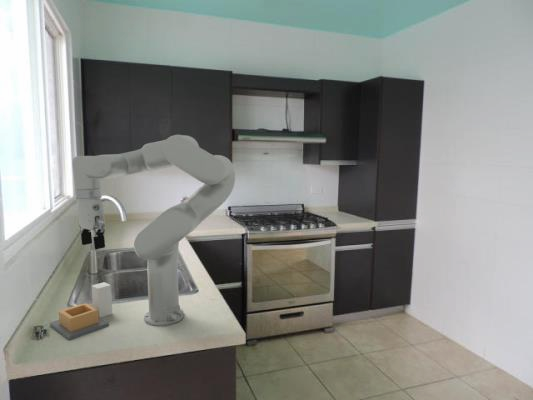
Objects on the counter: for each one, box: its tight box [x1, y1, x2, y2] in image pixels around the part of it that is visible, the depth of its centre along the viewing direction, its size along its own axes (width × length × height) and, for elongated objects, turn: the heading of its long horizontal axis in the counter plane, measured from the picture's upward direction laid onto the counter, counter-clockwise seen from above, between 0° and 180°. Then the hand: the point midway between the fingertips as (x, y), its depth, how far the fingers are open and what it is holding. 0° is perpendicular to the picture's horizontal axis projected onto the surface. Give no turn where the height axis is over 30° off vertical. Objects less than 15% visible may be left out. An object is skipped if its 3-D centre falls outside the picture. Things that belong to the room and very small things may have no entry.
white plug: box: [91, 281, 113, 318], centre depth 127 cm, size 4×4×10 cm
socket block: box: [49, 302, 110, 341], centre depth 119 cm, size 14×12×5 cm
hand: (93, 246), depth 125 cm, fingers open, 9 cm apart
